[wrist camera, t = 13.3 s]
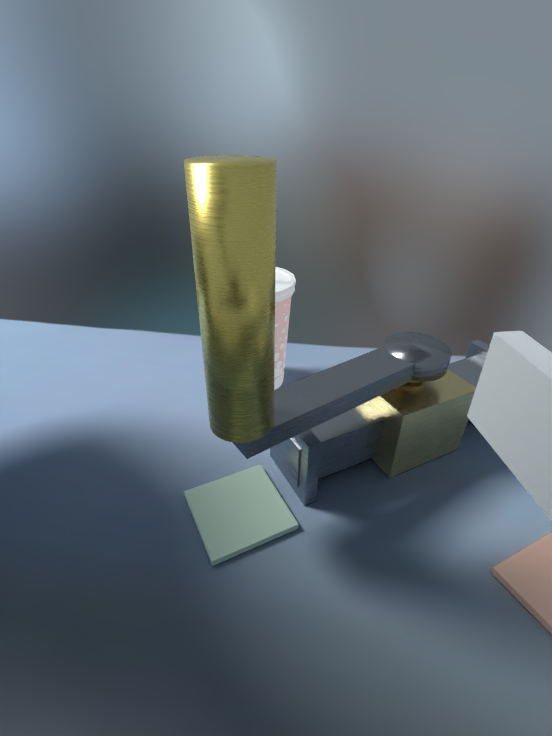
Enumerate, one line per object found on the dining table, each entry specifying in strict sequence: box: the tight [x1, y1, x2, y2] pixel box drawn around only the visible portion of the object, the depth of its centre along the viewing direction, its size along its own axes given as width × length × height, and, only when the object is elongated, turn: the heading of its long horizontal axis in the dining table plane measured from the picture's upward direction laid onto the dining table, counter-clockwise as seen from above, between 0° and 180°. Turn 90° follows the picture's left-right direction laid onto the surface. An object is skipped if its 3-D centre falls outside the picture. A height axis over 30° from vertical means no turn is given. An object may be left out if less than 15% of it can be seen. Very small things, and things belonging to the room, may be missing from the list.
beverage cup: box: [274, 267, 296, 390], centre depth 32 cm, size 6×6×14 cm
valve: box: [270, 340, 490, 506], centre depth 28 cm, size 18×6×6 cm, turn 117°
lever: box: [184, 155, 452, 459], centre depth 20 cm, size 16×4×12 cm, turn 125°
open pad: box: [184, 464, 298, 566], centre depth 24 cm, size 5×5×1 cm
